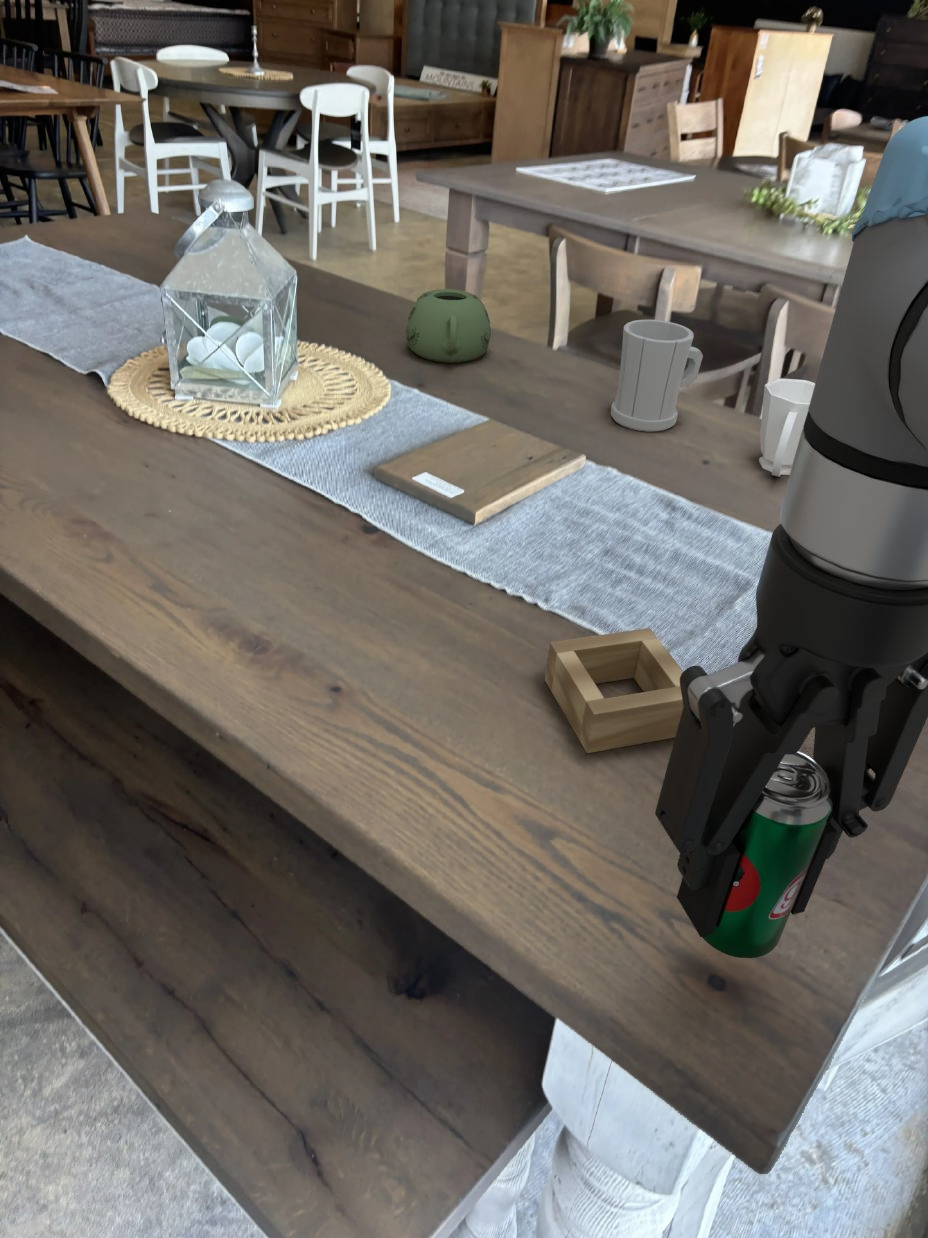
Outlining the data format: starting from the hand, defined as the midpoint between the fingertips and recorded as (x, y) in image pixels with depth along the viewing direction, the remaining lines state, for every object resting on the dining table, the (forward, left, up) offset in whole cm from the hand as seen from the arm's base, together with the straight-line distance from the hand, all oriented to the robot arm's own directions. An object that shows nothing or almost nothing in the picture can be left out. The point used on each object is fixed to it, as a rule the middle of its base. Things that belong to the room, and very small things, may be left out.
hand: (740, 904), depth 51 cm
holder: (+23, -4, -6) cm, 25 cm away
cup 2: (+59, -42, -6) cm, 73 cm away
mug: (+104, -13, -6) cm, 105 cm away
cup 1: (+77, -33, -6) cm, 84 cm away
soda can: (0, 0, -2) cm, 2 cm away
